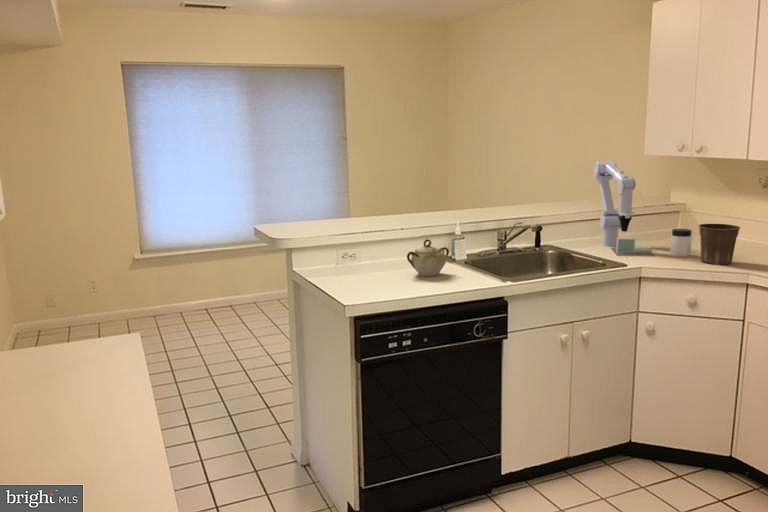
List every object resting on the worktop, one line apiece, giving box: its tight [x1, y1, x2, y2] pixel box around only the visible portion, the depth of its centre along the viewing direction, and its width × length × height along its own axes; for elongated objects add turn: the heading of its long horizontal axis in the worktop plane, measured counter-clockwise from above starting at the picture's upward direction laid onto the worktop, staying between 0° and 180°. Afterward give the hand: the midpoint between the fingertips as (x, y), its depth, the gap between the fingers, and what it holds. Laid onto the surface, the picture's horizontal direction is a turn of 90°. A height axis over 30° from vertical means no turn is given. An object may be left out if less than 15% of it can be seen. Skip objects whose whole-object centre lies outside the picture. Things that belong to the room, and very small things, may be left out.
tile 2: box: [635, 245, 651, 252], centre depth 311 cm, size 7×8×2 cm
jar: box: [669, 228, 693, 257], centre depth 298 cm, size 9×8×12 cm
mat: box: [610, 247, 657, 258], centre depth 306 cm, size 22×17×1 cm
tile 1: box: [616, 237, 636, 253], centre depth 304 cm, size 2×8×7 cm, turn 79°
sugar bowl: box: [406, 238, 450, 277], centre depth 267 cm, size 20×15×15 cm
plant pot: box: [698, 223, 741, 265], centre depth 280 cm, size 16×16×16 cm
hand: (624, 231), depth 309 cm, fingers closed
